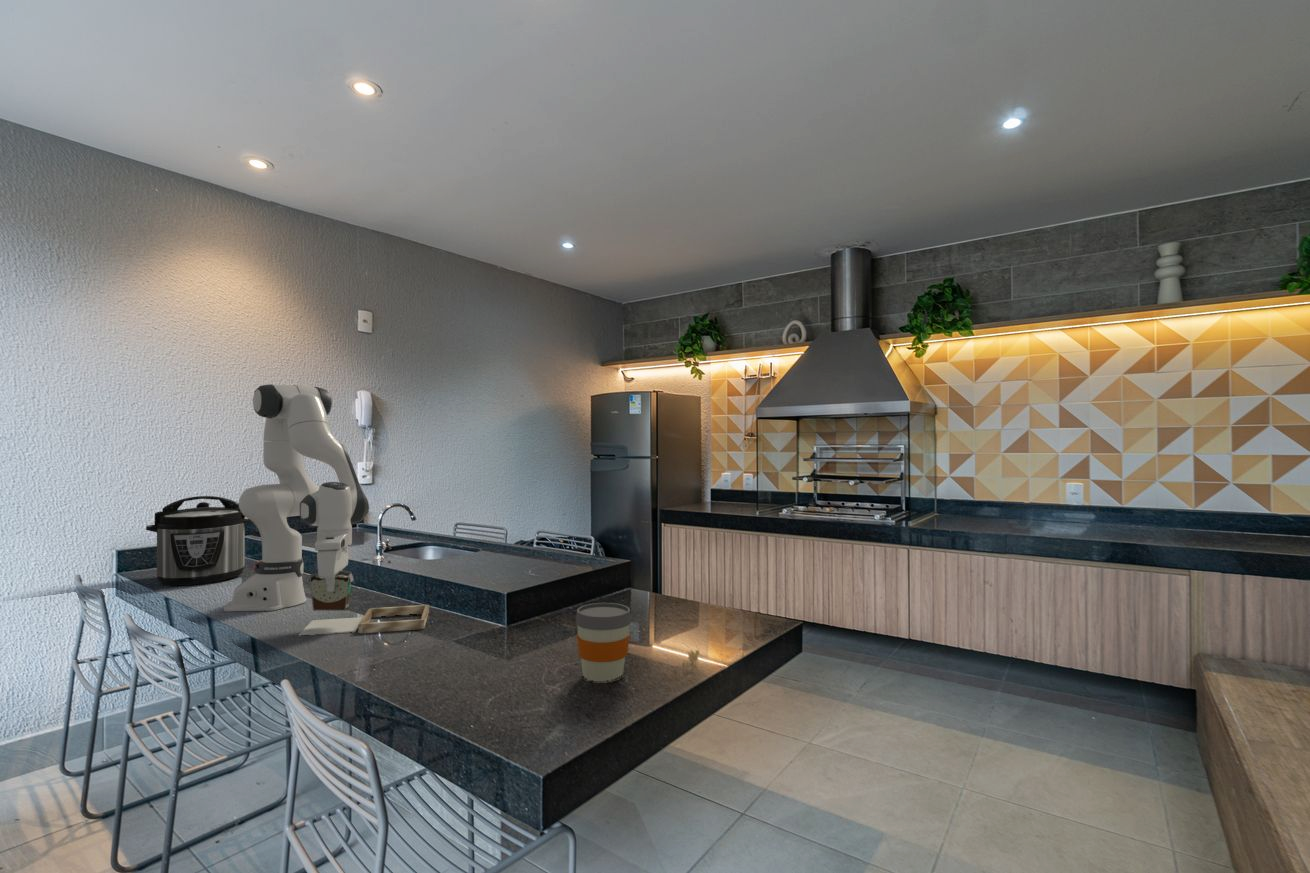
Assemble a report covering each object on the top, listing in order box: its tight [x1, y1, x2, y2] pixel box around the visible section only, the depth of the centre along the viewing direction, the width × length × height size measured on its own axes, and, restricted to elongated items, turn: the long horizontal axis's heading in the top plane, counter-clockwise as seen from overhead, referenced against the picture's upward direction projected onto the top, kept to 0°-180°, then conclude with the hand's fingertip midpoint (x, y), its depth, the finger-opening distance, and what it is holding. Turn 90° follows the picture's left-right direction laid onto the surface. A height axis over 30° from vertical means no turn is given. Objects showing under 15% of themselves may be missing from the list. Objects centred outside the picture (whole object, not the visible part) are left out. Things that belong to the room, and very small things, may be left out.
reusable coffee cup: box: [575, 602, 632, 681], centre depth 137 cm, size 13×13×15 cm
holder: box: [357, 604, 430, 634], centre depth 177 cm, size 17×17×2 cm
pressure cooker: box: [145, 495, 254, 586], centre depth 231 cm, size 30×28×32 cm
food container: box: [307, 570, 354, 612], centre depth 173 cm, size 12×6×10 cm, turn 88°
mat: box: [298, 616, 364, 637], centre depth 172 cm, size 14×14×1 cm
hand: (334, 588), depth 173 cm, fingers closed on food container, 6 cm apart
